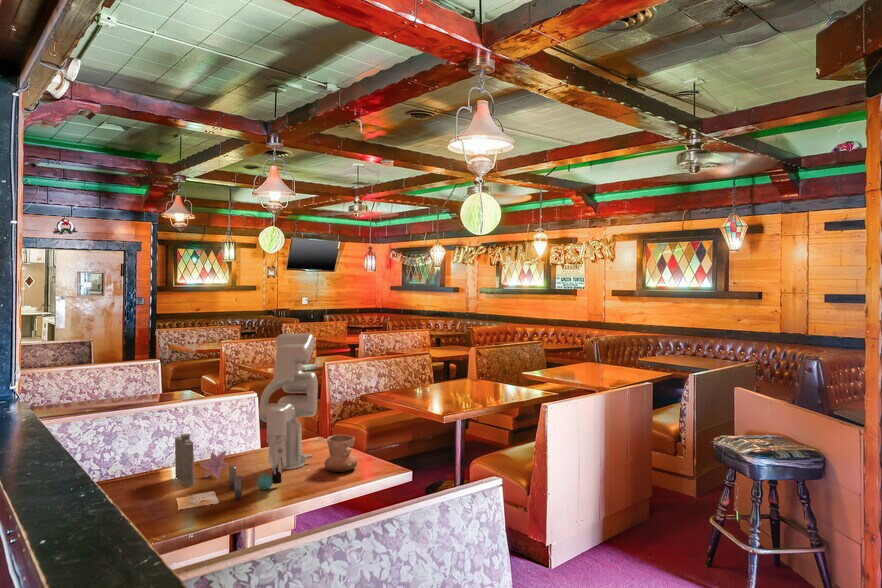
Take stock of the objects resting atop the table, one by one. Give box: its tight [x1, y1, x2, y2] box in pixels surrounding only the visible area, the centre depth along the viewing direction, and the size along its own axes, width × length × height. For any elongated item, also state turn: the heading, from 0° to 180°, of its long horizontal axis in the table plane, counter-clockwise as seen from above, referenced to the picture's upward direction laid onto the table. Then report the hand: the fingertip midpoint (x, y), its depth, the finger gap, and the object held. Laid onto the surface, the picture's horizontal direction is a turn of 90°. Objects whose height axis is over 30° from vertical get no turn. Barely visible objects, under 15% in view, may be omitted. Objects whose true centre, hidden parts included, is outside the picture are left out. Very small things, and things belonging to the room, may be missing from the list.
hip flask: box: [174, 433, 195, 488], centre depth 237 cm, size 16×4×20 cm, turn 42°
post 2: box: [234, 474, 243, 502], centre depth 218 cm, size 3×3×9 cm
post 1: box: [228, 465, 237, 491], centre depth 229 cm, size 3×3×9 cm
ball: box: [256, 473, 273, 491], centre depth 228 cm, size 6×6×6 cm
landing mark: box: [187, 490, 220, 506], centre depth 217 cm, size 14×14×1 cm
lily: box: [199, 450, 230, 480], centre depth 246 cm, size 12×12×10 cm
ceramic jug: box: [324, 434, 358, 473], centre depth 253 cm, size 18×14×14 cm
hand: (276, 482), depth 231 cm, fingers closed
